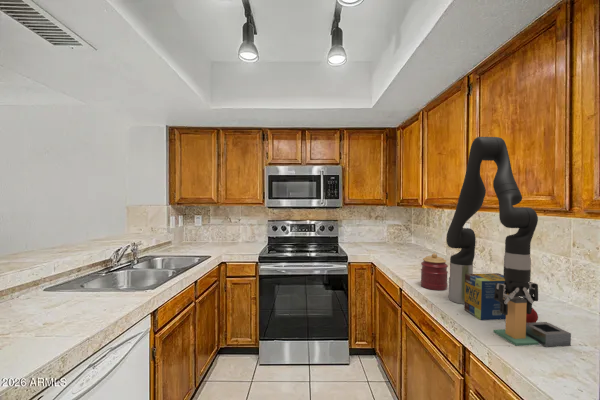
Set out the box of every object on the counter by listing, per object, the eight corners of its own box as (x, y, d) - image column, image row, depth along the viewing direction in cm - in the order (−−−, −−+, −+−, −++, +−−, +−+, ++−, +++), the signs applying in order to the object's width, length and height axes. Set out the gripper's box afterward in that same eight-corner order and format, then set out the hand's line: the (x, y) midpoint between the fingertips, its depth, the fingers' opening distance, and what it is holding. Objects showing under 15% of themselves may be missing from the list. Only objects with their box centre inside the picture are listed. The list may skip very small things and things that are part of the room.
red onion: (529, 322, 119) (530, 301, 119) (541, 328, 113) (542, 306, 113) (514, 322, 119) (515, 301, 119) (526, 328, 113) (526, 307, 113)
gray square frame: (522, 334, 109) (522, 322, 109) (545, 333, 110) (546, 321, 110) (545, 346, 100) (545, 334, 100) (570, 345, 101) (571, 333, 101)
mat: (493, 331, 110) (493, 329, 110) (514, 331, 111) (514, 328, 111) (515, 345, 100) (516, 343, 100) (538, 344, 101) (538, 342, 101)
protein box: (463, 310, 131) (464, 273, 130) (497, 309, 132) (498, 272, 132) (480, 320, 120) (481, 280, 120) (517, 319, 122) (518, 279, 121)
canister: (442, 283, 169) (443, 251, 168) (451, 291, 156) (452, 256, 155) (417, 282, 170) (418, 250, 169) (424, 290, 157) (425, 255, 156)
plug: (505, 333, 108) (506, 296, 107) (515, 332, 108) (517, 295, 108) (514, 338, 104) (515, 300, 103) (525, 338, 104) (526, 299, 104)
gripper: (527, 263, 110) (525, 308, 110) (489, 264, 108) (488, 310, 109) (546, 268, 102) (544, 317, 103) (506, 269, 101) (504, 319, 101)
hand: (515, 313), depth 106 cm, fingers open, 8 cm apart
